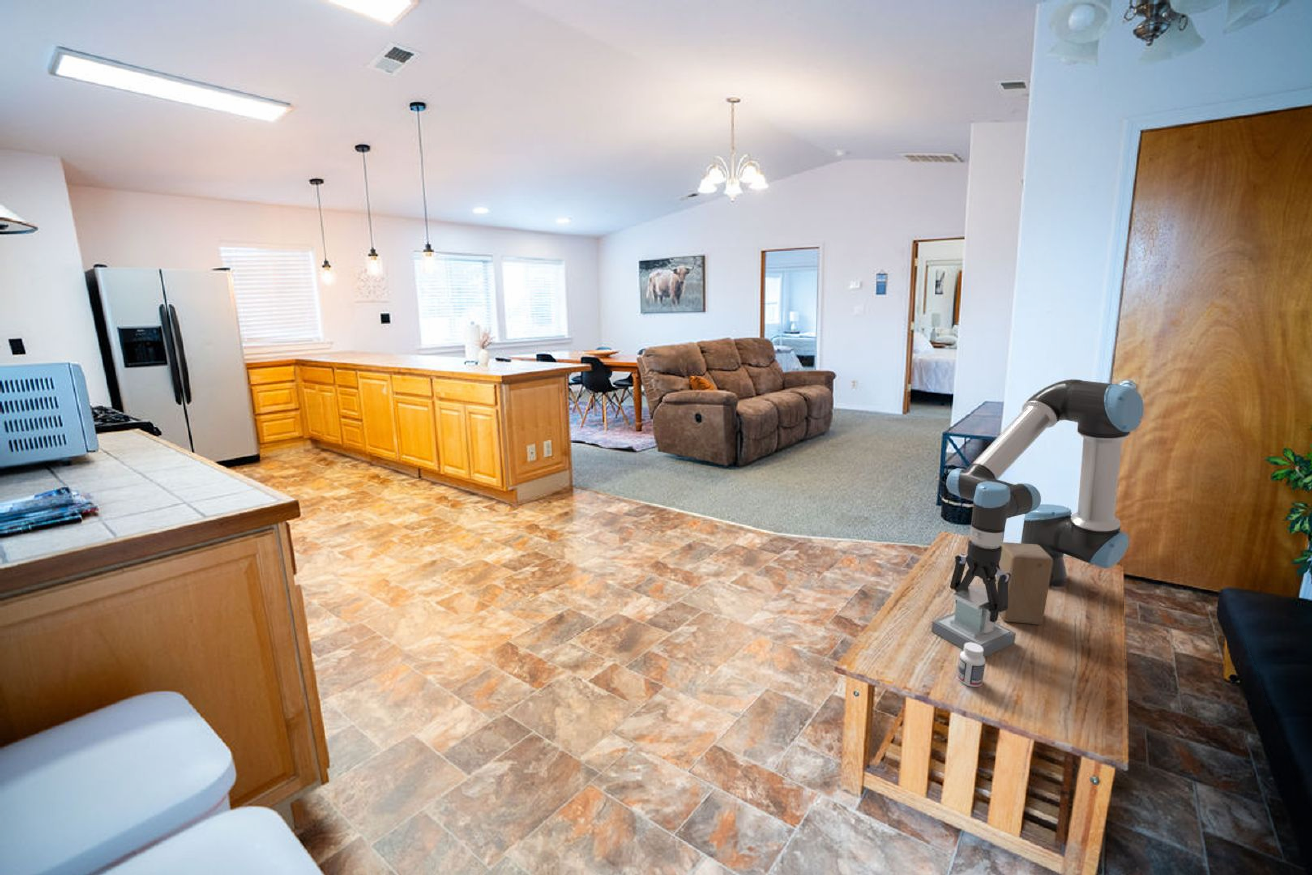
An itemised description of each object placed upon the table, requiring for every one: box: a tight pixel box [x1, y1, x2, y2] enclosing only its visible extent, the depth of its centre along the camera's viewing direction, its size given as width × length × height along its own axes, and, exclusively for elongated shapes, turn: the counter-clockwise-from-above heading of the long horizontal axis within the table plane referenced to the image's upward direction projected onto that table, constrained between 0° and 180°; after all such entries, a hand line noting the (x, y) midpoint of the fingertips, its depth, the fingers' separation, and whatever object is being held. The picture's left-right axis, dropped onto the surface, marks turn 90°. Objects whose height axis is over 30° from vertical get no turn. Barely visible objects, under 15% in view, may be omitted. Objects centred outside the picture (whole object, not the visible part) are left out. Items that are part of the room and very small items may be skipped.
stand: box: [930, 612, 1017, 658], centre depth 156 cm, size 14×14×3 cm
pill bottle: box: [957, 642, 986, 688], centre depth 138 cm, size 5×5×9 cm
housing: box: [950, 583, 1000, 638], centre depth 155 cm, size 7×10×9 cm
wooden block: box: [995, 541, 1053, 625], centre depth 164 cm, size 10×10×20 cm
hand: (974, 623), depth 156 cm, fingers closed on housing, 7 cm apart
